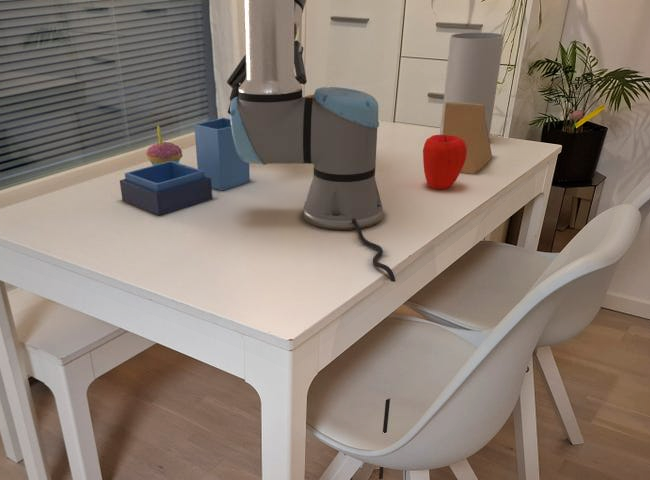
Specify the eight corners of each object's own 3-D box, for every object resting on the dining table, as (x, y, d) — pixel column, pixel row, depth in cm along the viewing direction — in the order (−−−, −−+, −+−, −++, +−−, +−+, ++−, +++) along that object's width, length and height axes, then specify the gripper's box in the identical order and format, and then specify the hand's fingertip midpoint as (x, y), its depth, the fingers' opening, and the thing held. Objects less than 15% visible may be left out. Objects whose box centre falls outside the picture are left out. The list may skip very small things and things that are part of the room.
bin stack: (174, 185, 152) (172, 159, 149) (212, 198, 144) (210, 170, 141) (122, 200, 145) (118, 173, 141) (159, 215, 136) (155, 186, 133)
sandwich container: (493, 157, 163) (504, 91, 155) (475, 174, 152) (484, 104, 144) (458, 153, 167) (466, 89, 159) (438, 169, 156) (445, 101, 148)
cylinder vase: (491, 147, 171) (508, 38, 157) (440, 146, 173) (452, 39, 159) (485, 134, 181) (500, 32, 168) (437, 134, 183) (448, 32, 170)
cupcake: (177, 179, 156) (172, 126, 150) (143, 178, 158) (136, 125, 152) (188, 168, 164) (183, 117, 157) (154, 167, 165) (149, 116, 159)
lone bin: (227, 174, 158) (223, 117, 151) (249, 181, 153) (247, 122, 146) (198, 183, 153) (194, 124, 146) (221, 190, 148) (217, 130, 141)
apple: (467, 183, 147) (474, 133, 141) (453, 195, 141) (460, 142, 135) (428, 178, 151) (433, 128, 145) (413, 189, 145) (418, 137, 139)
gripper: (337, 31, 147) (311, 121, 145) (246, 42, 161) (222, 124, 159) (321, 8, 141) (295, 102, 139) (228, 22, 155) (203, 107, 153)
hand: (256, 114), depth 149 cm, fingers open, 13 cm apart
